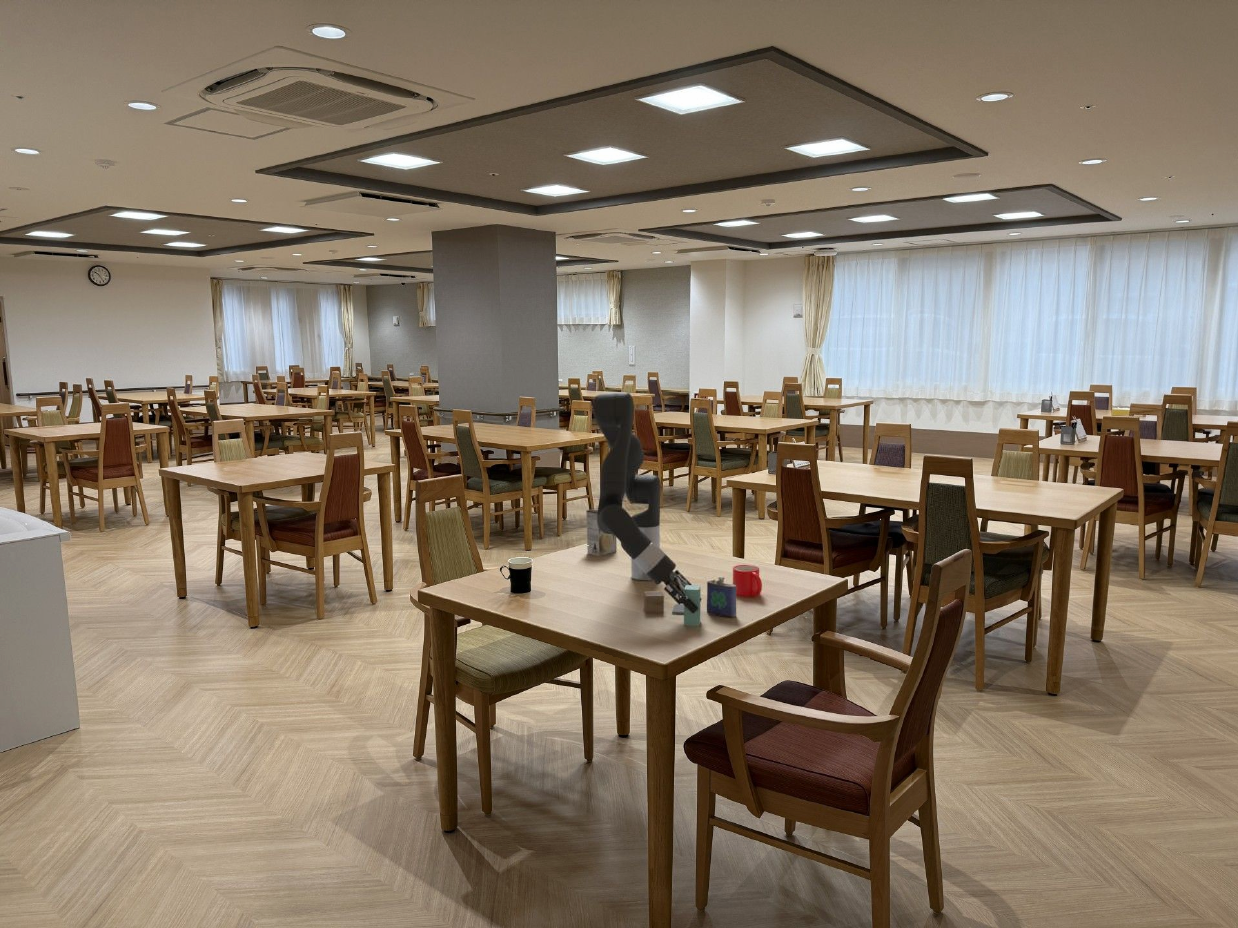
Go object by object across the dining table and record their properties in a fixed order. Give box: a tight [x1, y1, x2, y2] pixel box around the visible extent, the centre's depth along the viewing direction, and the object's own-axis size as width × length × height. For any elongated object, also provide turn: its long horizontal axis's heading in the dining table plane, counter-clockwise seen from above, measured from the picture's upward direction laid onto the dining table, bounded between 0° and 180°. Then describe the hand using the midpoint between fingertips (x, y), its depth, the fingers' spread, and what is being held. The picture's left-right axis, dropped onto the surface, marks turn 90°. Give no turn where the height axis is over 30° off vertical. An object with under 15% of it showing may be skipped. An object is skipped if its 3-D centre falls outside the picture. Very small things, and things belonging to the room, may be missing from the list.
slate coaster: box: [671, 603, 684, 615], centre depth 244 cm, size 7×7×1 cm
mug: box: [732, 564, 763, 598], centre depth 258 cm, size 8×12×8 cm, turn 27°
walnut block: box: [643, 590, 665, 614], centre depth 245 cm, size 5×5×5 cm
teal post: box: [683, 584, 701, 627], centre depth 232 cm, size 4×4×10 cm
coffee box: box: [586, 507, 618, 557], centre depth 312 cm, size 9×6×16 cm
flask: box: [706, 576, 737, 619], centre depth 240 cm, size 9×3×11 cm, turn 51°
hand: (697, 606), depth 232 cm, fingers open, 7 cm apart
